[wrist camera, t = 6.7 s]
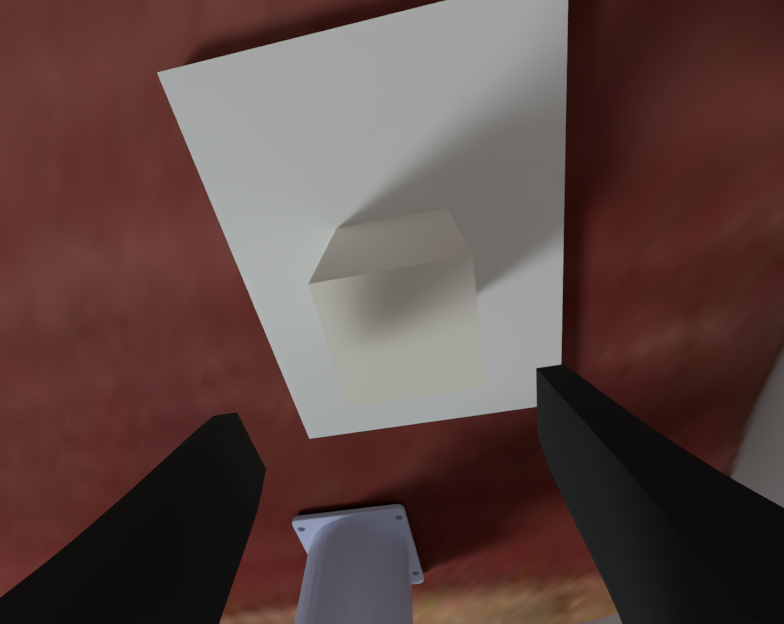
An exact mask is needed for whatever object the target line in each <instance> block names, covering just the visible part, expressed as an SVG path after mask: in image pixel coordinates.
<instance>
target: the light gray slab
mask: <svg viewBox="0 0 784 624" xmlns="http://www.w3.org/2000/svg"><path fill="white" fill-rule="evenodd" d="M567 35H568V0H445V1H441V2H437V3H433V4H429V5H425V6H421V7H417V8H413V9H409V10H405V11H401V12H397V13H393V14H389V15H385V16H381V17H377V18H373V19H369V20H365V21H361V22H357V23H353V24H349V25H345V26H341V27H337V28H333V29H329V30H325V31H321V32H317V33H313V34H309V35H305V36H301V37H297V38H293V39H289V40H285V41H281V42H277V43H273V44H269V45H265V46H261V47H257V48H253V49H249V50H245V51H241V52H237V53H233V54H229V55H225V56H221V57H217V58H213V59H209V60H205V61H201V62H197V63H193V64H189V65H185V66H181V67H177V68H173V69H169V70H165V71H161V72H157V74H158V76H159V78H160V81H161V83H162V86H163V88H164V90H165V93H166V95H167V98H168V100H169V102H170V105H171V107H172V110H173V112H174V114H175V117H176V119H177V122H178V124H179V126H180V129H181V131H182V134H183V136H184V138H185V141H186V143H187V146H188V148H189V150H190V153H191V155H192V158H193V160H194V162H195V165H196V167H197V170H198V172H199V174H200V177H201V179H202V182H203V184H204V187H205V189H206V191H207V194H208V196H209V199H210V201H211V203H212V206H213V208H214V211H215V213H216V215H217V218H218V220H219V223H220V225H221V227H222V230H223V232H224V235H225V237H226V239H227V242H228V244H229V247H230V249H231V251H232V254H233V256H234V259H235V261H236V263H237V266H238V268H239V271H240V273H241V275H242V278H243V280H244V283H245V285H246V287H247V290H248V292H249V295H250V297H251V299H252V302H253V304H254V307H255V309H256V311H257V314H258V316H259V319H260V321H261V323H262V326H263V328H264V331H265V333H266V336H267V338H268V340H269V343H270V345H271V348H272V350H273V352H274V355H275V357H276V360H277V362H278V364H279V367H280V369H281V372H282V374H283V376H284V379H285V381H286V384H287V386H288V388H289V391H290V393H291V396H292V398H293V400H294V403H295V405H296V408H297V410H298V412H299V415H300V417H301V420H302V422H303V424H304V427H305V429H306V432H307V434H308V436H309V439H311V438H318V437H325V436H332V435H339V434H346V433H353V432H360V431H368V430H375V429H382V428H389V427H396V426H403V425H410V424H417V423H425V422H432V421H439V420H446V419H453V418H460V417H467V416H474V415H481V414H489V413H496V412H503V411H510V410H517V409H524V408H531V407H537V388H536V368H541V367H548V366H554V365H561V353H562V300H563V247H564V194H565V141H566V88H567ZM444 207H447V209H448V211H449V213H450V215H451V216H452V218H453V220H454V222H455V224H456V225H457V227H458V229H459V231H460V233H461V234H462V236H463V238H464V240H465V242H466V244H467V245H468V247H469V249H470V251H471V253H472V254H473V263H474V273H475V284H476V294H477V304H478V315H479V325H480V336H481V346H482V356H483V367H484V377H485V388H479V389H472V390H465V391H458V392H451V393H444V394H438V395H431V396H424V397H417V398H410V399H403V400H396V401H389V402H382V403H375V404H368V405H361V406H354V407H348V405H347V402H346V399H345V396H344V393H343V390H342V387H341V384H340V381H339V378H338V375H337V372H336V369H335V365H334V362H333V359H332V356H331V353H330V350H329V347H328V344H327V341H326V338H325V335H324V332H323V329H322V326H321V322H320V319H319V316H318V313H317V310H316V307H315V304H314V301H313V298H312V295H311V292H310V289H309V286H308V283H309V281H310V279H311V278H312V276H313V274H314V272H315V270H316V268H317V266H318V264H319V262H320V260H321V258H322V256H323V254H324V252H325V250H326V248H327V246H328V244H329V242H330V240H331V238H332V236H333V234H334V232H335V230H336V228H340V227H345V226H350V225H356V224H361V223H366V222H371V221H377V220H382V219H387V218H392V217H397V216H403V215H408V214H413V213H418V212H423V211H429V210H434V209H439V208H444Z"/></svg>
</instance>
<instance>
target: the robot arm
mask: <svg viewBox="0 0 784 624" xmlns="http://www.w3.org/2000/svg"><path fill="white" fill-rule="evenodd" d="M536 388H537V434H538V437H539V440H540V443H541V446H542V449H543V451H544V454H545V457H546V460H547V462H548V465H549V468H550V471H551V473H552V476H553V478H554V480H555V482H556V484H557V486H558V489H559V491H560V493H561V495H562V497H563V499H564V501H565V503H566V505H567V507H568V509H569V511H570V513H571V515H572V517H573V519H574V521H575V523H576V525H577V527H578V529H579V531H580V533H581V535H582V538H583V540H584V542H585V544H586V546H587V548H588V550H589V552H590V554H591V556H592V558H593V560H594V562H595V564H596V566H597V568H598V570H599V572H600V574H601V576H602V578H603V580H604V582H605V584H606V587H607V589H608V591H609V593H610V595H611V598H612V600H613V602H614V604H615V607H616V609H617V611H618V614H619V616H620V619H621V621H622V623H623V624H784V508H783V507H781V506H779V505H777V504H776V503H774V502H772V501H770V500H768V499H767V498H765V497H763V496H761V495H759V494H758V493H756V492H754V491H752V490H751V489H749V488H747V487H745V486H744V485H742V484H740V483H738V482H737V481H735V480H733V479H732V478H730V477H728V476H727V475H725V474H723V473H722V472H720V471H718V470H717V469H715V468H713V467H712V466H710V465H709V464H707V463H705V462H704V461H702V460H701V459H699V458H697V457H696V456H694V455H693V454H691V453H689V452H688V451H686V450H685V449H683V448H681V447H680V446H678V445H677V444H675V443H674V442H672V441H671V440H669V439H668V438H666V437H665V436H663V435H662V434H660V433H659V432H657V431H656V430H654V429H653V428H651V427H650V426H649V425H647V424H646V423H644V422H643V421H641V420H640V419H638V418H637V417H635V416H634V415H633V414H631V413H630V412H628V411H627V410H626V409H624V408H623V407H621V406H620V405H619V404H617V403H616V402H614V401H613V400H612V399H610V398H609V397H608V396H606V395H605V394H604V393H602V392H601V391H599V390H598V389H597V388H595V387H594V386H593V385H591V384H590V383H589V382H587V381H586V380H585V379H583V378H582V377H581V376H579V375H578V374H577V373H575V372H574V371H573V370H571V369H570V368H568V367H567V366H566V365H564V364H561V365H554V366H548V367H541V368H536ZM265 471H266V468H265V466H264V464H263V462H262V460H261V459H260V457H259V455H258V453H257V451H256V449H255V447H254V445H253V443H252V441H251V439H250V437H249V435H248V433H247V431H246V429H245V427H244V425H243V423H242V421H241V419H240V417H239V415H238V414H237V413H230V414H223V415H216V416H213V417H212V418H211V419H209V420H208V421H207V422H206V423H204V424H203V425H202V426H201V427H200V428H199V429H197V430H196V431H195V432H194V433H193V434H192V435H191V436H190V437H188V438H187V439H186V440H185V441H184V442H183V443H182V444H181V445H180V446H179V447H177V448H176V449H175V450H174V451H173V452H172V453H171V454H170V455H169V456H168V457H167V458H165V459H164V460H163V461H162V462H161V463H160V464H159V465H158V466H157V467H156V468H155V469H153V470H152V471H151V472H150V473H149V474H148V475H147V476H146V477H145V478H144V479H143V480H141V481H140V482H139V483H138V484H137V485H136V486H135V487H134V488H133V489H132V490H130V491H129V492H128V493H127V494H126V495H125V496H124V497H123V498H121V499H120V500H119V501H118V502H117V503H116V504H114V505H113V506H112V507H111V508H110V509H109V510H108V511H106V512H105V513H104V514H103V515H102V516H101V517H99V518H98V519H97V520H96V521H95V522H94V523H93V524H91V525H90V526H89V527H88V528H87V529H86V530H84V531H83V532H82V533H81V534H80V535H79V536H78V537H76V538H75V539H74V540H73V541H72V542H70V543H69V544H68V545H67V546H65V547H64V548H63V549H62V550H61V551H59V552H58V553H57V554H56V555H54V556H53V557H52V558H51V559H49V560H48V561H47V562H46V563H44V564H43V565H42V566H41V567H39V568H38V569H37V570H35V571H34V572H33V573H32V574H30V575H29V576H28V577H26V578H25V579H24V580H23V581H21V582H20V583H19V584H17V585H16V586H15V587H14V588H12V589H11V590H10V591H8V592H7V593H6V594H4V595H3V596H2V597H0V624H219V622H220V619H221V616H222V613H223V610H224V607H225V605H226V602H227V599H228V596H229V593H230V590H231V587H232V584H233V581H234V578H235V576H236V573H237V570H238V567H239V564H240V561H241V558H242V555H243V552H244V550H245V547H246V544H247V541H248V538H249V535H250V532H251V529H252V526H253V523H254V520H255V517H256V513H257V510H258V505H259V501H260V497H261V492H262V487H263V482H264V477H265ZM292 525H293V527H294V529H295V531H296V533H297V535H298V537H299V539H300V541H301V543H302V544H303V546H304V548H305V550H306V552H307V554H308V557H307V562H306V567H305V572H304V578H303V583H302V588H301V593H300V598H299V603H298V608H297V613H296V618H295V623H294V624H413V611H412V584H418V583H422V582H423V581H424V575H423V571H422V568H421V564H420V561H419V557H418V554H417V550H416V547H415V543H414V540H413V536H412V533H411V529H410V525H409V522H408V518H407V515H406V511H405V508H404V506H402V505H400V504H392V505H384V506H375V507H367V508H359V509H350V510H342V511H334V512H325V513H317V514H309V515H300V516H296V517H294V519H293V522H292Z"/></svg>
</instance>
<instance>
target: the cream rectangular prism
mask: <svg viewBox="0 0 784 624" xmlns="http://www.w3.org/2000/svg"><path fill="white" fill-rule="evenodd" d="M308 286H309V289H310V292H311V295H312V298H313V301H314V304H315V307H316V310H317V313H318V316H319V319H320V322H321V326H322V329H323V332H324V335H325V338H326V341H327V344H328V347H329V350H330V353H331V356H332V359H333V362H334V365H335V369H336V372H337V375H338V378H339V381H340V384H341V387H342V390H343V393H344V396H345V399H346V402H347V405H348V407H354V406H361V405H368V404H375V403H382V402H389V401H396V400H403V399H410V398H417V397H424V396H431V395H438V394H444V393H451V392H458V391H465V390H472V389H479V388H485V377H484V367H483V356H482V346H481V336H480V325H479V315H478V304H477V294H476V284H475V273H474V263H473V254H472V253H471V251H470V249H469V247H468V245H467V244H466V242H465V240H464V238H463V236H462V234H461V233H460V231H459V229H458V227H457V225H456V224H455V222H454V220H453V218H452V216H451V215H450V213H449V211H448V209H447V207H444V208H439V209H434V210H429V211H423V212H418V213H413V214H408V215H403V216H397V217H392V218H387V219H382V220H377V221H371V222H366V223H361V224H356V225H350V226H345V227H340V228H336V230H335V232H334V234H333V236H332V238H331V240H330V242H329V244H328V246H327V248H326V250H325V252H324V254H323V256H322V258H321V260H320V262H319V264H318V266H317V268H316V270H315V272H314V274H313V276H312V278H311V279H310V281H309V283H308Z"/></svg>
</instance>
